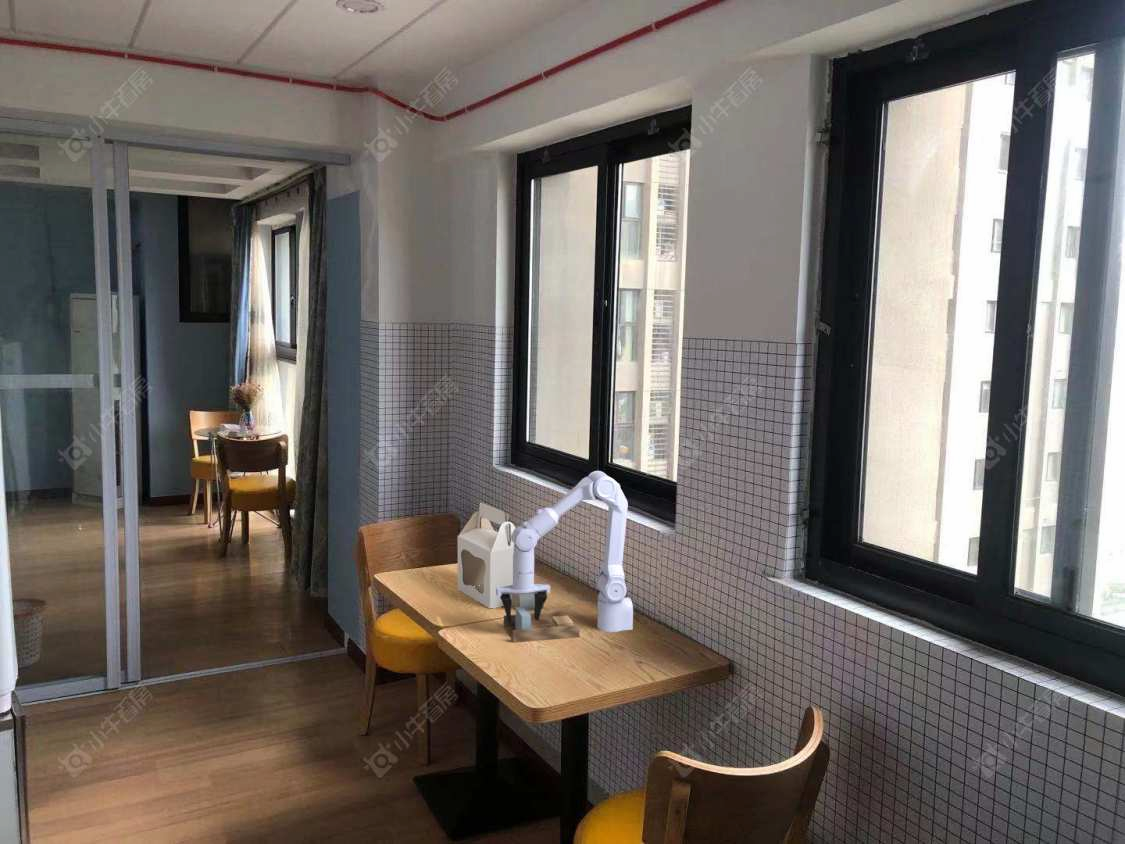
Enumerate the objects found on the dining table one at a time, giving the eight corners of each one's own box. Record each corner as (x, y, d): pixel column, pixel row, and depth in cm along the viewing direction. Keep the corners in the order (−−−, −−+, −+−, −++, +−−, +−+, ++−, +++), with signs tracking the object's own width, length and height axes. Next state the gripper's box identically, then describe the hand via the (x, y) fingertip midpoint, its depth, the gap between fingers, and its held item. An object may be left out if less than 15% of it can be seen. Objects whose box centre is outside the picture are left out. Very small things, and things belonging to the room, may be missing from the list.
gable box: (529, 602, 275) (530, 511, 271) (490, 609, 268) (490, 516, 264) (494, 583, 293) (494, 498, 290) (456, 589, 286) (456, 502, 283)
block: (523, 627, 251) (524, 606, 250) (530, 637, 243) (530, 615, 242) (515, 628, 250) (515, 607, 249) (521, 638, 242) (522, 616, 242)
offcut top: (567, 620, 252) (567, 615, 252) (573, 628, 246) (573, 622, 246) (552, 621, 251) (552, 616, 251) (557, 629, 245) (557, 623, 245)
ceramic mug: (510, 607, 270) (511, 581, 269) (537, 604, 273) (537, 579, 272) (520, 619, 260) (520, 593, 259) (547, 616, 263) (548, 590, 262)
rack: (566, 623, 256) (566, 610, 256) (579, 640, 244) (579, 626, 244) (503, 628, 252) (503, 615, 251) (513, 645, 239) (513, 631, 239)
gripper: (546, 565, 250) (545, 613, 252) (494, 568, 246) (493, 617, 248) (552, 572, 243) (551, 621, 245) (499, 575, 240) (498, 625, 241)
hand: (522, 620), depth 246 cm, fingers open, 7 cm apart
